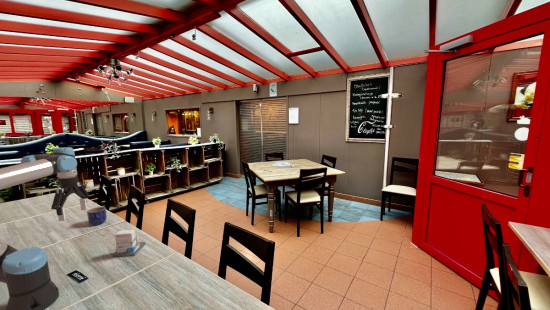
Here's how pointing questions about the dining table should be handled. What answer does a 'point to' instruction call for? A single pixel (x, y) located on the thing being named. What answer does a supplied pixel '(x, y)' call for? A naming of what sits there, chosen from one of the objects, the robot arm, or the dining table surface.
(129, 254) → the header board
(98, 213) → the planter
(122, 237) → the ink box
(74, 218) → the dining table surface
